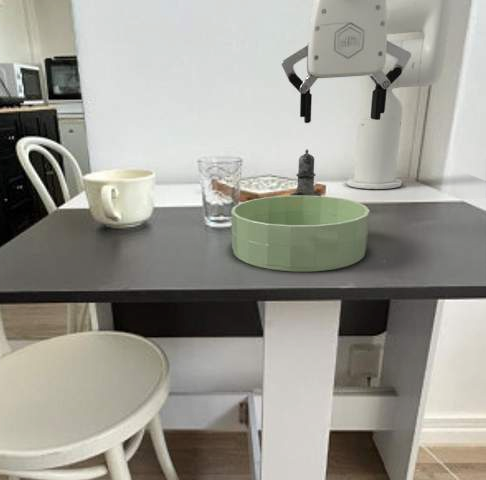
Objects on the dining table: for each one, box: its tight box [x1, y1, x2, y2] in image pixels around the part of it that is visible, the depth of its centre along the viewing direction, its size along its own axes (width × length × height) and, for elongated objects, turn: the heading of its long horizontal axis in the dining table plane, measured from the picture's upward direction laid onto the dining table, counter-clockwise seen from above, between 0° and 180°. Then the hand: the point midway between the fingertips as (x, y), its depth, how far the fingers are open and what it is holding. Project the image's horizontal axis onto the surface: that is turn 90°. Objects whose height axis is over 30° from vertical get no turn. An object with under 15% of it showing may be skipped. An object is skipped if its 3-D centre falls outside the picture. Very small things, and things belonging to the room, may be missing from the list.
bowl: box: [230, 195, 371, 273], centre depth 63 cm, size 19×19×6 cm
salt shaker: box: [288, 149, 322, 196], centre depth 82 cm, size 6×6×12 cm
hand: (340, 120), depth 64 cm, fingers open, 9 cm apart
